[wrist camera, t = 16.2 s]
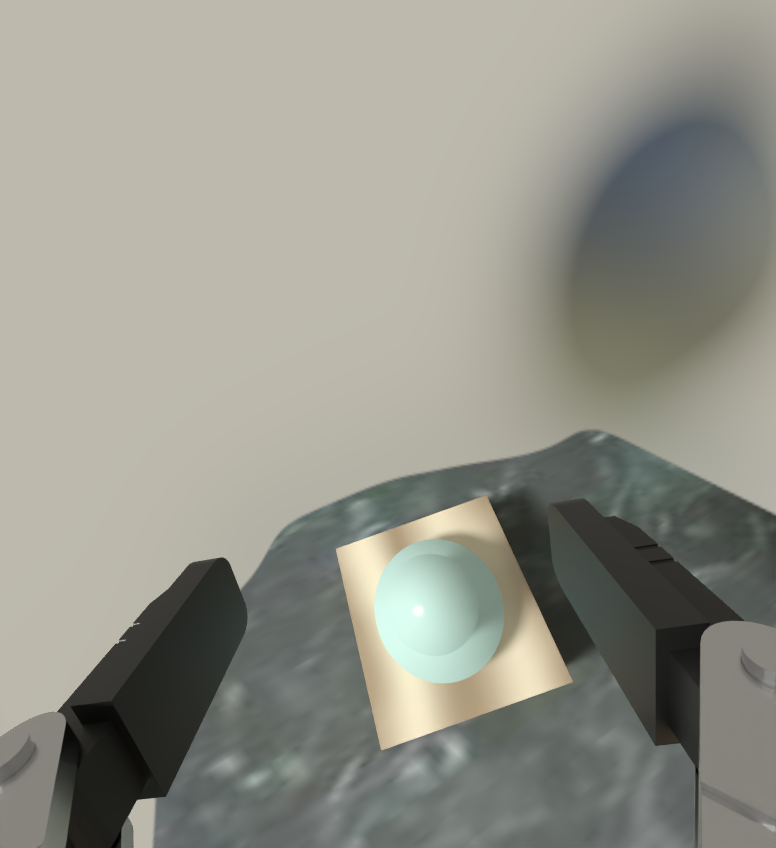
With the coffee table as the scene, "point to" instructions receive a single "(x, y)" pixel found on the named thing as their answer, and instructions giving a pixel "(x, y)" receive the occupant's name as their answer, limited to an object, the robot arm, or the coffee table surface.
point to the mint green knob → (439, 611)
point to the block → (503, 674)
